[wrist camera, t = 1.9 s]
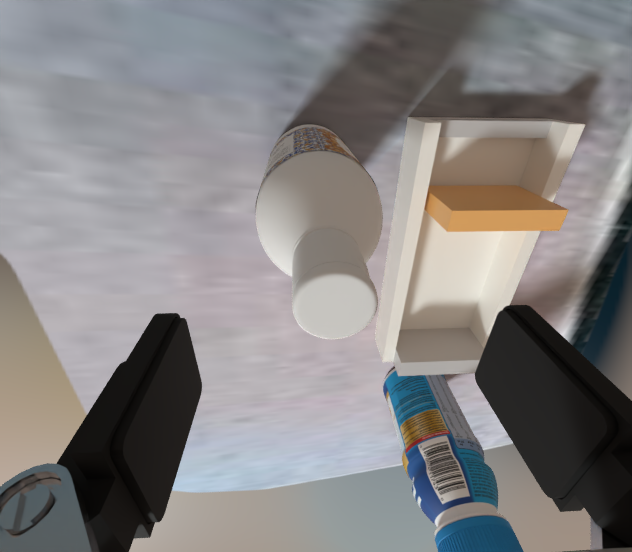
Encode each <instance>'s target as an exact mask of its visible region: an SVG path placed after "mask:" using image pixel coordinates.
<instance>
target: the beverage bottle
mask: <svg viewBox="0 0 632 552" xmlns="http://www.w3.org/2000/svg"><path fill="white" fill-rule="evenodd" d="M383 391H384V395H385V398H386V400H387V403H388V406H389V409H390V412H391V416H392V419H393V423H394V426H395V430H396V433H397V437H398V440H399V444H400V448H401V451H402V461H403V465H404V468H405V471H406V473H407V475H408V476H409V477H410V479H411V480H412V481H413V485H412V492H413V495H414V497H415V499H416V501H417V503H418V504H419V506H420V508H421V509H422V511H423V512H424V513H425V514H426V516H427V517H428V518H429V519H430V520H431V521H432V522H433V523H434V524H435V525H436V526H437V527H438V528H437V529H436V531H435V541H436V545H437V548H438V552H523V550H522V548H521V545H520V544H519V541H518V540H517V537H516V535H515V533H514V531H513V529H512V527H511V526H510V524H509V522H508V521H507V520H506V518H505V517H504V516H503V515H501V514H498V513H497V507H498V489H497V483H496V479H495V475H494V473H493V471H492V469H491V468H490V467H489V466H488V465H486V464H485V463H484V452H483V449H482V447H481V445H480V443H479V441H478V439H477V438H476V437H475V436H474V434H473V432H472V430H471V428H470V426H469V424H468V422H467V421H466V419H465V417H464V415H463V413H462V411H461V409H460V407H459V405H458V403H457V401H456V399H455V397H454V395H453V394H452V392H451V390H450V388H449V386H448V384H447V382H446V379H445V377H444V375H443V374H442V375H416V376H398V374H397V371H396V368H394V369H393V370H392V371H391V372H390V373H389V374H388V375H387V376H386V378H385V380H384V383H383Z"/></svg>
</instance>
